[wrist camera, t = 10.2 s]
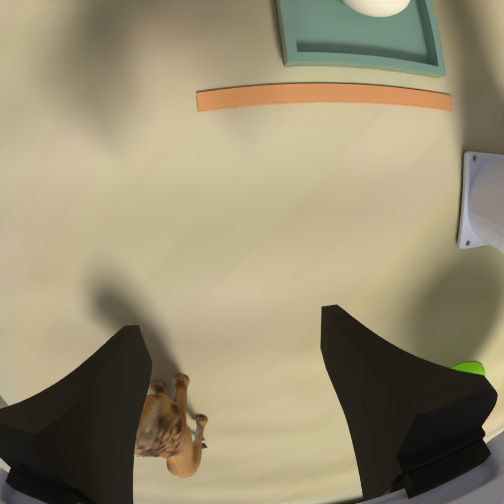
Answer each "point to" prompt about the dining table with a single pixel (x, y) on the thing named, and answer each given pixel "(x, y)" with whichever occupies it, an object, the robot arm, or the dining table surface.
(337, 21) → the tray
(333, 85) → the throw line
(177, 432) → the lion figurine
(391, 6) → the ball
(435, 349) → the dining table surface
